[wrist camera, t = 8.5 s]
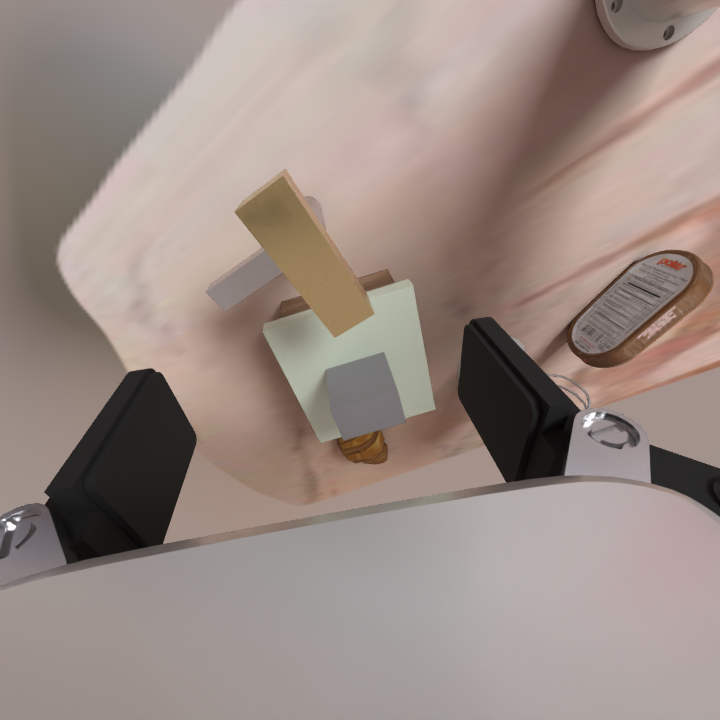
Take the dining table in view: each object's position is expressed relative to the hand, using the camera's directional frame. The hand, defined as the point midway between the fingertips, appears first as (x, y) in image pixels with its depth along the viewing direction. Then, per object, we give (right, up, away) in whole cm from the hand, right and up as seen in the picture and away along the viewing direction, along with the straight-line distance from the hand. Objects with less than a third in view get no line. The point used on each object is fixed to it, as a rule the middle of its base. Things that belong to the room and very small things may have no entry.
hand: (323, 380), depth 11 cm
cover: (+1, 0, +25) cm, 25 cm away
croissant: (+1, -10, +40) cm, 41 cm away
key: (-7, +13, +22) cm, 26 cm away
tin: (+32, +9, +32) cm, 46 cm away
